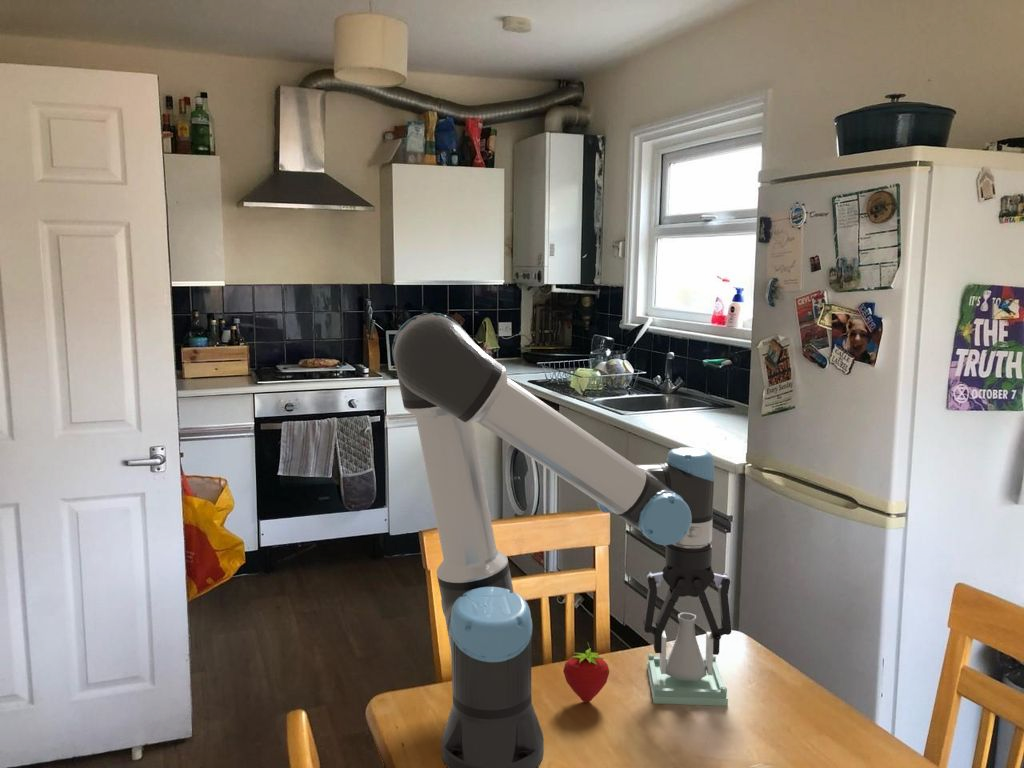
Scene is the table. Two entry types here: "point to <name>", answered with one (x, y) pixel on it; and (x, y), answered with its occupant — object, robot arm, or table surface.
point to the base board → (686, 687)
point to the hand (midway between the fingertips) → (685, 670)
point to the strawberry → (586, 674)
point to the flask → (686, 652)
